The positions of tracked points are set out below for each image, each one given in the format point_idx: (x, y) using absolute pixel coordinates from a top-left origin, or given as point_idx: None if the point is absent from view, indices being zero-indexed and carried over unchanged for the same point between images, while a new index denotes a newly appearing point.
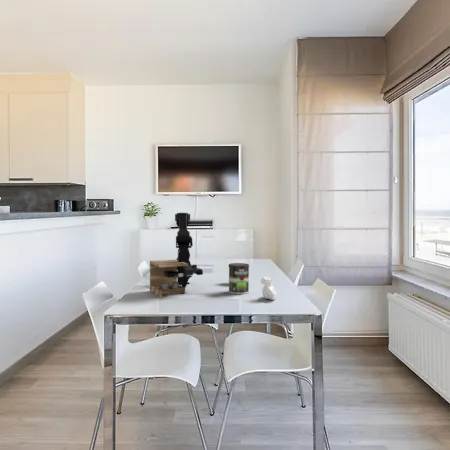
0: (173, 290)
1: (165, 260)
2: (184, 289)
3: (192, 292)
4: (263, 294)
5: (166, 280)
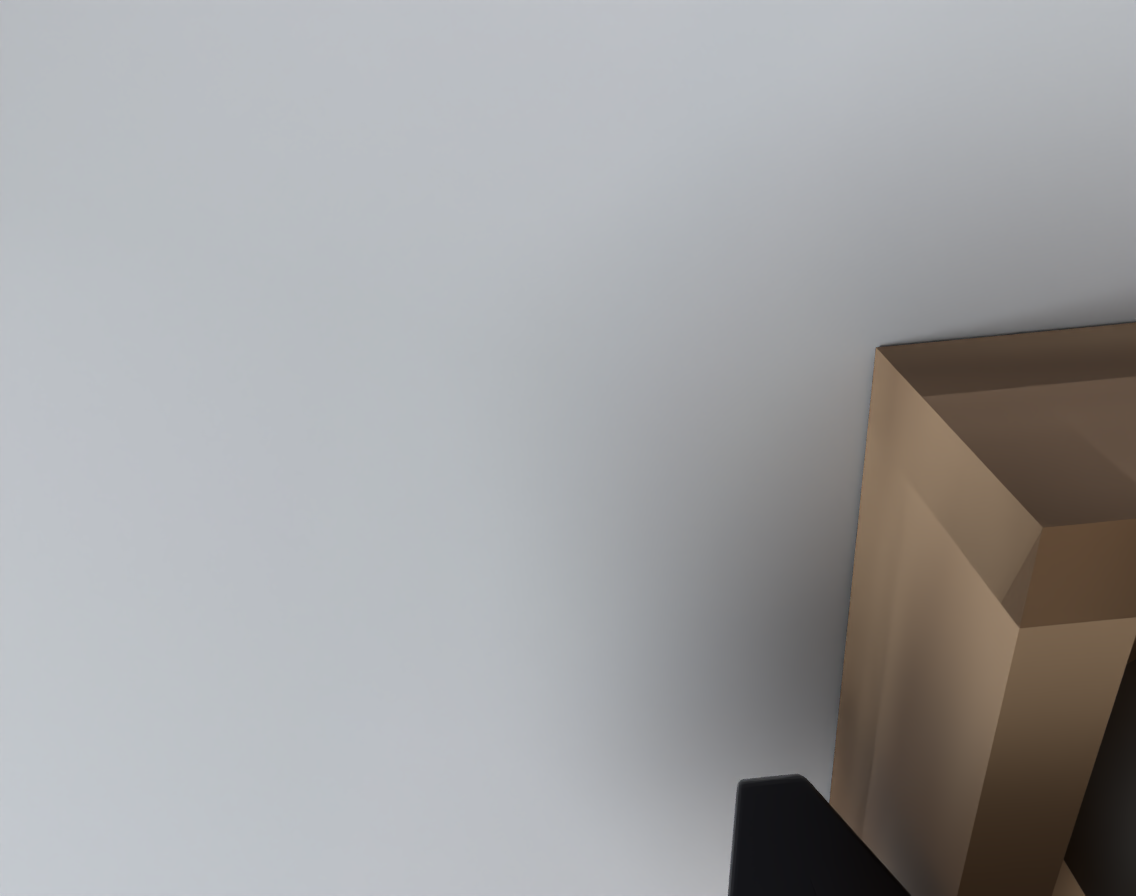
0: None
1: None
2: (1028, 462)
3: (399, 523)
4: None
5: None
